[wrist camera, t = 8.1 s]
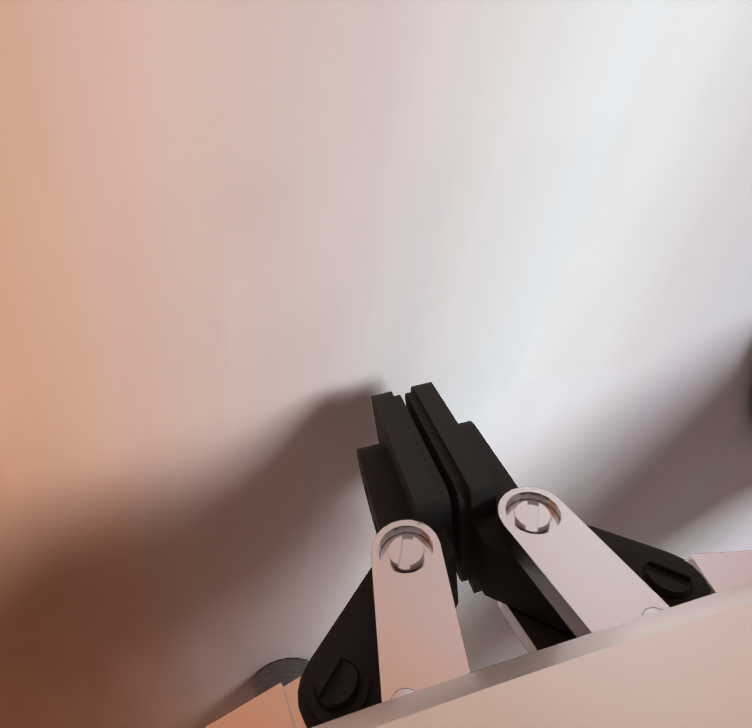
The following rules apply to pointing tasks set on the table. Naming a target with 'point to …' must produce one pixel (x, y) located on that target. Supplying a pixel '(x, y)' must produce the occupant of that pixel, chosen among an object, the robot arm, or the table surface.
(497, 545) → the robot arm
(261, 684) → the post
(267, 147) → the table surface
